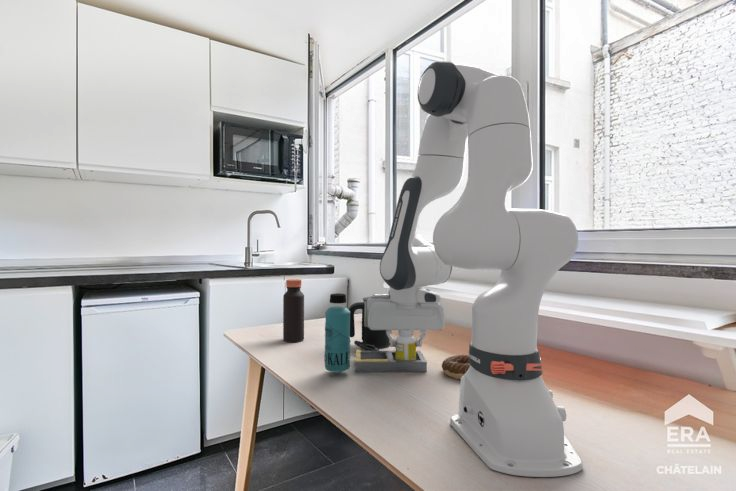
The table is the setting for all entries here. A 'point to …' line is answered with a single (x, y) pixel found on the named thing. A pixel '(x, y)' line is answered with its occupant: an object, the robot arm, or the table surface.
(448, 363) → the donut
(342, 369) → the beverage bottle
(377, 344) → the milk frother
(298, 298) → the vinegar
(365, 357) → the grey compartment tray
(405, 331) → the supplement bottle
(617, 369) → the table surface
